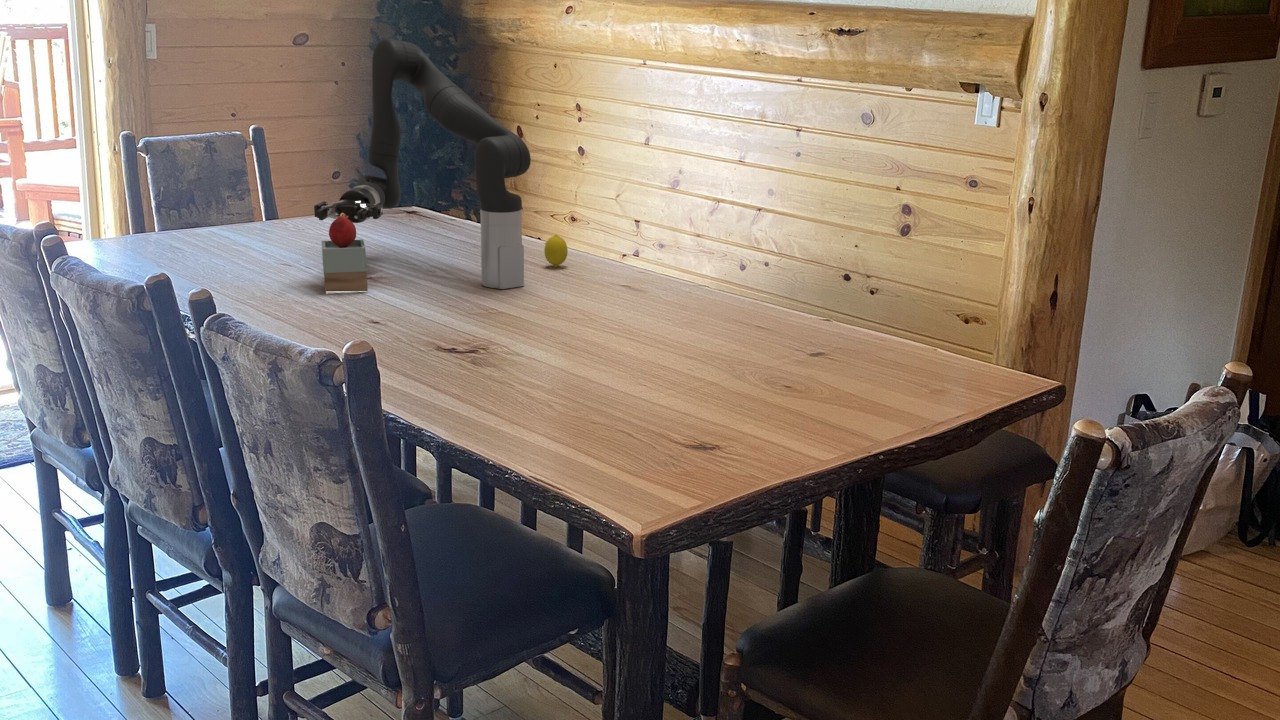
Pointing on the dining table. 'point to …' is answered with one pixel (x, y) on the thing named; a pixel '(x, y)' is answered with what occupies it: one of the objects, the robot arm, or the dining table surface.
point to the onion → (342, 231)
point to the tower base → (346, 281)
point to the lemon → (556, 250)
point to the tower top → (344, 257)
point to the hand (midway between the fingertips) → (339, 216)
